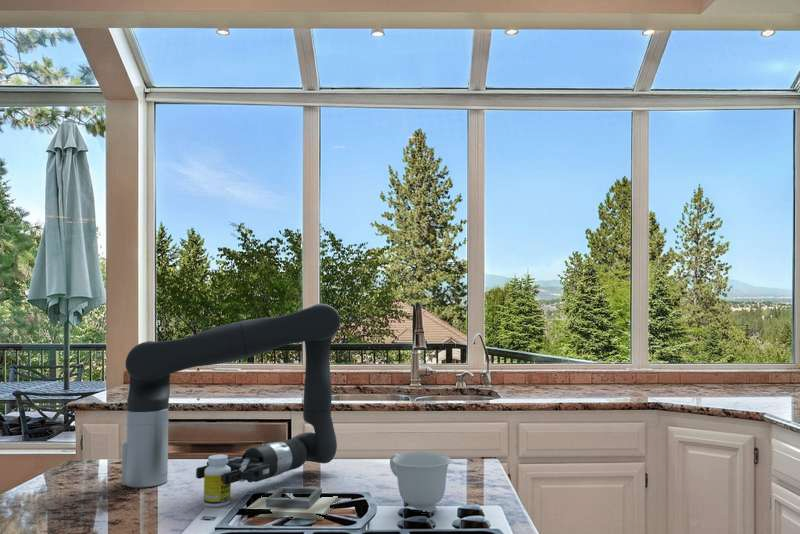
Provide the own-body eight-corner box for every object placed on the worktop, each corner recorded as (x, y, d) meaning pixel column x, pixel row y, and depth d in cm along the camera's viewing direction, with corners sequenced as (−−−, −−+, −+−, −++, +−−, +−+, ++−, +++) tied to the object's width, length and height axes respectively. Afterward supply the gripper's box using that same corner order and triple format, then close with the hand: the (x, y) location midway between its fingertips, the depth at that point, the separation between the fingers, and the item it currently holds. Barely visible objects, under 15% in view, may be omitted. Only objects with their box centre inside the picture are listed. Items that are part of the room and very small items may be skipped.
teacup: (411, 493, 138) (411, 447, 139) (464, 508, 128) (463, 458, 129) (370, 506, 130) (370, 456, 131) (423, 523, 119) (422, 469, 120)
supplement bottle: (223, 508, 130) (223, 459, 130) (198, 507, 131) (199, 458, 131) (235, 500, 135) (235, 453, 136) (211, 499, 136) (212, 453, 137)
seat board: (244, 516, 124) (244, 502, 125) (270, 495, 138) (270, 482, 138) (322, 519, 122) (322, 505, 122) (341, 498, 136) (341, 485, 136)
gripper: (246, 440, 149) (188, 454, 136) (290, 447, 141) (233, 462, 128) (246, 473, 149) (188, 489, 135) (290, 481, 141) (233, 500, 127)
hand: (210, 476), depth 132 cm, fingers open, 8 cm apart
